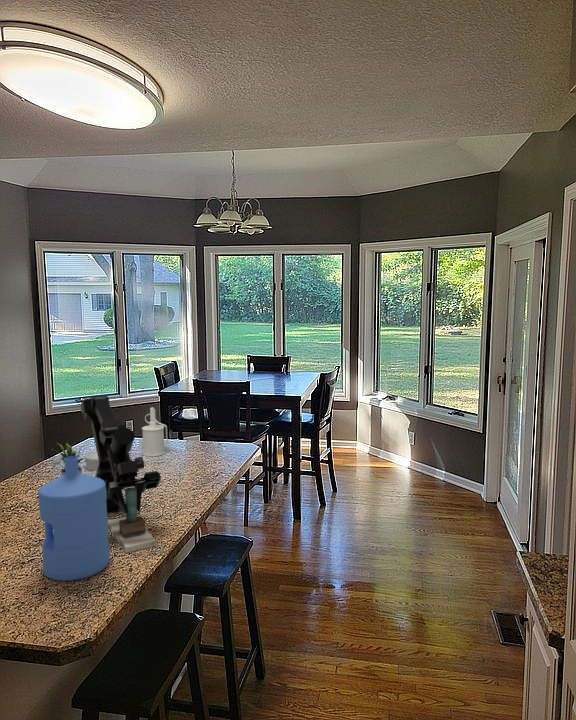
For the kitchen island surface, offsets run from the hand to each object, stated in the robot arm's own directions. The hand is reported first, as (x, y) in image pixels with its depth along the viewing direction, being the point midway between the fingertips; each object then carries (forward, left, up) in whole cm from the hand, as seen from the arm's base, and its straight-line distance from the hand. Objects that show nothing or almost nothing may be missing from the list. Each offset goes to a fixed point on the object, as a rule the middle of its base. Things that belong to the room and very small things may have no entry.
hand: (132, 512), depth 153 cm
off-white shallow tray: (-2, +3, -8) cm, 9 cm away
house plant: (-37, +43, -8) cm, 57 cm away
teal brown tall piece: (-1, +1, -6) cm, 7 cm away
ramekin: (-34, +65, -8) cm, 73 cm away
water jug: (-10, -15, -8) cm, 20 cm away
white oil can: (-17, +84, -8) cm, 86 cm away
